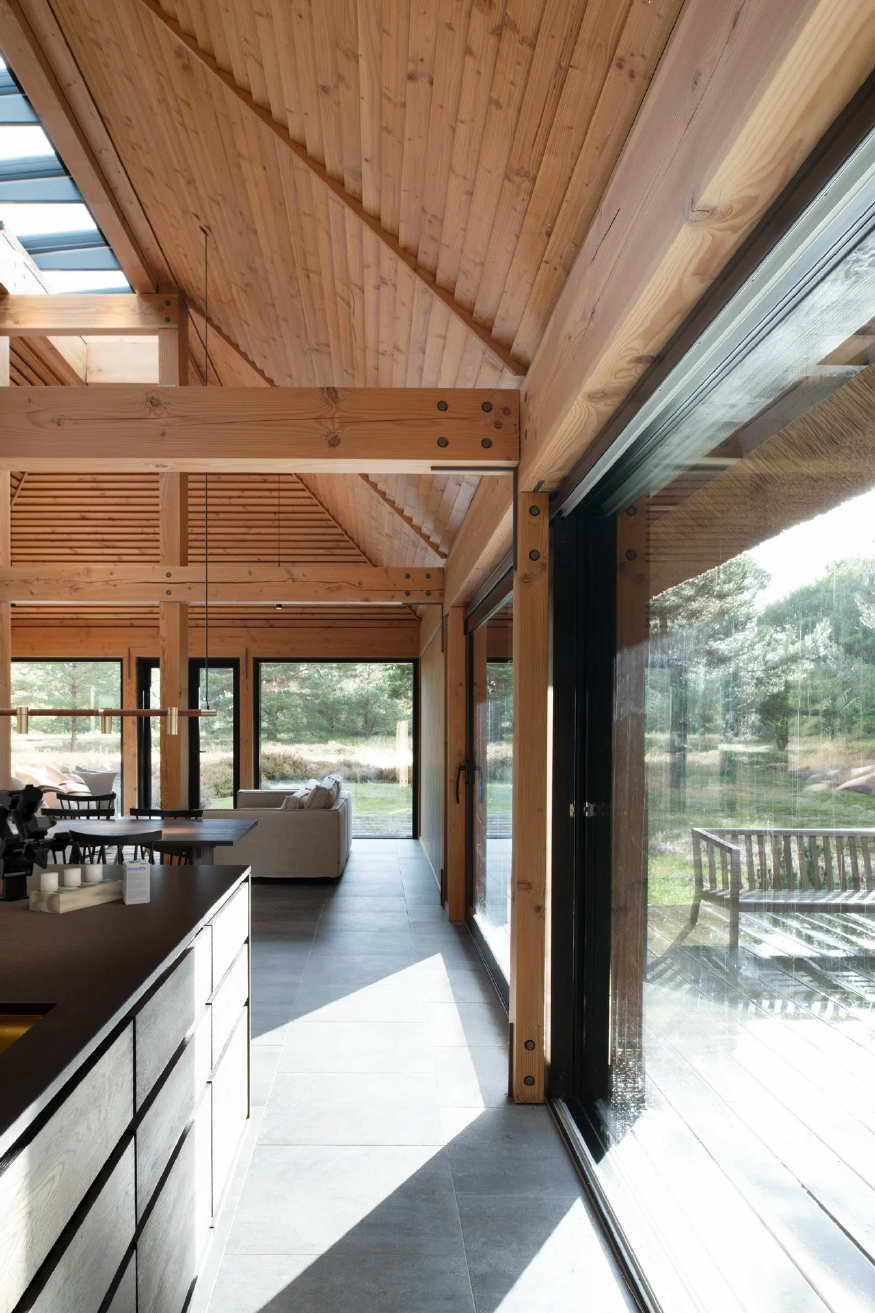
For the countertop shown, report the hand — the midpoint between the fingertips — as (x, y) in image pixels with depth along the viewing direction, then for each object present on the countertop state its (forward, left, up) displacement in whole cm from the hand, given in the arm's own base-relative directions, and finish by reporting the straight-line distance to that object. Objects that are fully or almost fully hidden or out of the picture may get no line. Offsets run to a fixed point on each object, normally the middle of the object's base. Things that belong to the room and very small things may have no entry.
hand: (45, 868), depth 255 cm
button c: (+2, +15, -8) cm, 18 cm away
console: (+4, +7, -11) cm, 14 cm away
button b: (+2, +7, -8) cm, 11 cm away
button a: (+2, -1, -8) cm, 9 cm away
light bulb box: (+16, +17, -11) cm, 26 cm away
